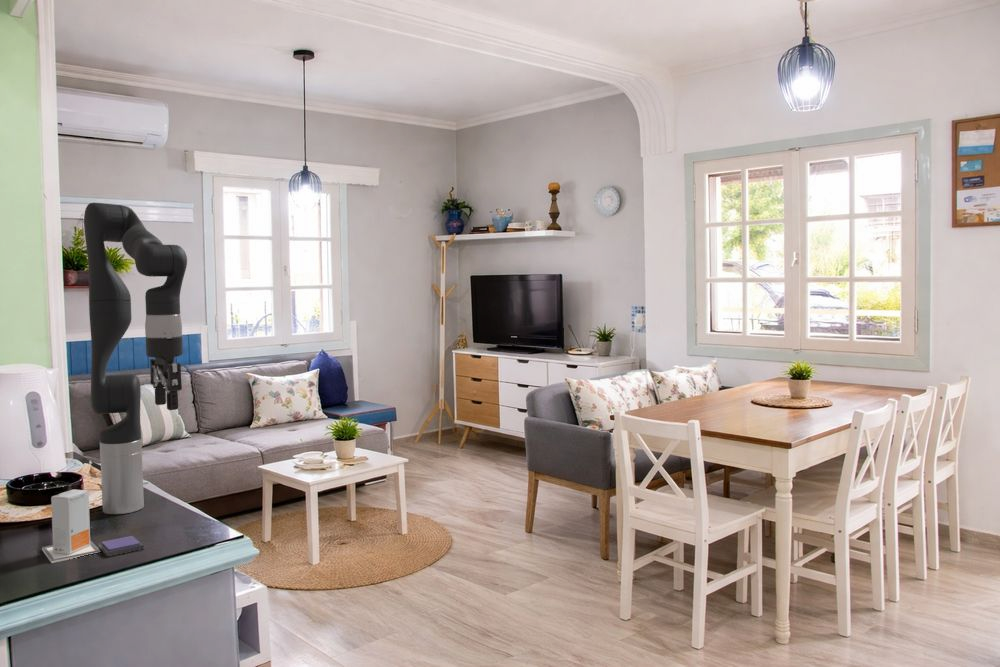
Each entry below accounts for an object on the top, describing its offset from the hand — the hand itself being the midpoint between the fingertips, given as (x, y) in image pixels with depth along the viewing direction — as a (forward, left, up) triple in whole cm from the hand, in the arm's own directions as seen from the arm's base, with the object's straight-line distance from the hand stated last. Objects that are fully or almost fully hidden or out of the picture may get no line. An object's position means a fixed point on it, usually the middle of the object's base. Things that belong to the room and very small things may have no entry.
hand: (166, 407), depth 178 cm
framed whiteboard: (+1, -21, -28) cm, 35 cm away
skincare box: (+1, -20, -28) cm, 34 cm away
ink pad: (+6, -12, -28) cm, 31 cm away
